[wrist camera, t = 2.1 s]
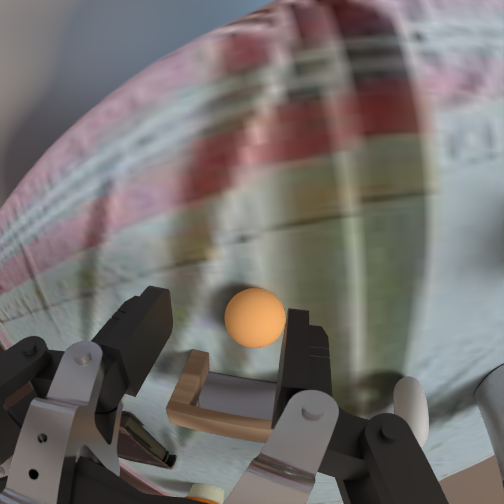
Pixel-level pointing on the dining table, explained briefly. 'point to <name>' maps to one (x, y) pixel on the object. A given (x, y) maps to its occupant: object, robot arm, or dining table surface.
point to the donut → (412, 407)
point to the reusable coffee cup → (206, 493)
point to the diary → (141, 444)
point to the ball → (254, 318)
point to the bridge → (207, 420)
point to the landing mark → (238, 396)
